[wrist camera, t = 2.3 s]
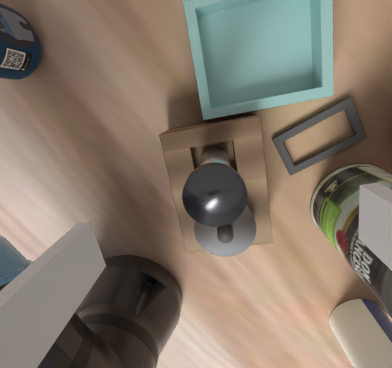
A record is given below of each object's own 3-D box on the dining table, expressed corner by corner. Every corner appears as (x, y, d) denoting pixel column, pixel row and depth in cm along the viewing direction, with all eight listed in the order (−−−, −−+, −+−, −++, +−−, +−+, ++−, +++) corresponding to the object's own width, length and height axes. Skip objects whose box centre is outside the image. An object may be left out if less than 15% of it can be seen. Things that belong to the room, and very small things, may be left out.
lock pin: (199, 179, 28) (188, 230, 17) (192, 142, 27) (175, 171, 16) (236, 173, 28) (251, 222, 16) (231, 136, 26) (243, 160, 15)
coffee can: (310, 242, 32) (376, 341, 19) (309, 169, 29) (389, 225, 16) (393, 235, 31) (527, 335, 18) (401, 157, 28) (573, 208, 14)
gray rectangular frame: (289, 174, 29) (290, 175, 29) (271, 138, 28) (273, 139, 28) (364, 137, 27) (367, 137, 27) (348, 97, 26) (351, 96, 26)
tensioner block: (264, 221, 32) (280, 260, 24) (190, 231, 33) (183, 270, 25) (252, 113, 27) (267, 118, 20) (168, 129, 29) (151, 139, 21)
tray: (204, 118, 28) (203, 120, 25) (186, 10, 25) (182, -3, 22) (320, 96, 26) (333, 95, 23) (317, -24, 23) (332, -41, 20)
